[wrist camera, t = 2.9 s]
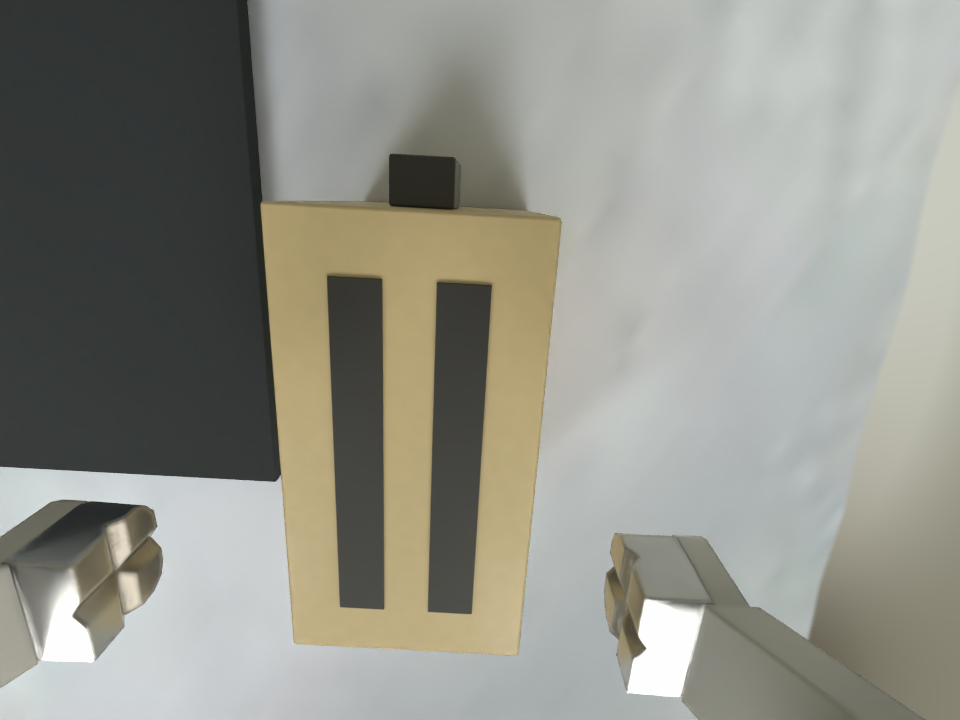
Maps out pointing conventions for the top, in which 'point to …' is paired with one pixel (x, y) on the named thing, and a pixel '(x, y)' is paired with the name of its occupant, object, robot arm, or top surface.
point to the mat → (132, 242)
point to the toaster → (409, 409)
